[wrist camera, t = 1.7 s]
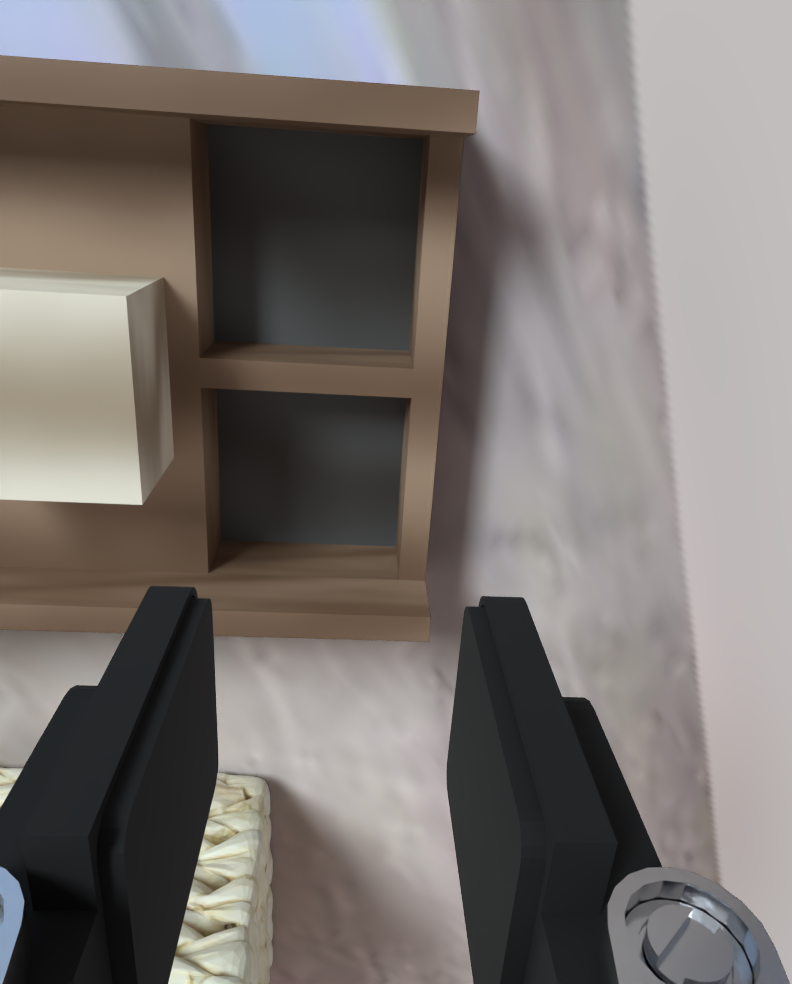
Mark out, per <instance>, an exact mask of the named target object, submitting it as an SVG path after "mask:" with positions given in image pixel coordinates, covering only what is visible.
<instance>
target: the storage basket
mask: <svg viewBox="0 0 792 984" xmlns="http://www.w3.org/2000/svg"><path fill="white" fill-rule="evenodd" d="M22 769H23V768H2V767H0V808H1V806H2V804H3V803H4V801H5V799H6V797H7V796H8V794H9V792H10V790H11V789H12V787H13V785H14V783H15V782H16V780H17V778H18V776H19V775H20V773H21V771H22ZM269 814H270V792H269V788H268V785H267V783H266V782H265V781H264V780H263V779H261V778H259V777H254V776H243V775H229V774H226V773H217V781H216V787H215V791H214V795H213V800H212V804H211V808H210V812H209V816H208V820H207V824H206V829H205V833H204V837H203V841H202V845H201V849H200V854H199V858H198V862H197V866H196V870H195V874H194V878H193V883H192V887H191V891H190V895H189V899H188V903H187V907H186V912H185V916H184V920H183V924H182V928H181V932H180V936H179V941H178V945H177V949H176V953H175V957H174V961H173V965H172V970H171V974H170V978H169V982H168V984H269V983H270V967H271V966H272V962H273V947H272V943H271V941H272V938H273V922H272V916H271V915H272V908H273V894H272V890H271V888H270V884H271V881H272V875H273V859H272V854H271V850H270V848H269V846H270V839H271V820H270V817H269Z"/></svg>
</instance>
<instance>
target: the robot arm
mask: <svg viewBox="0 0 792 984" xmlns="http://www.w3.org/2000/svg"><path fill="white" fill-rule="evenodd" d="M217 773H218V738H217V714H216V689H215V664H214V639H213V615H212V603H211V600H210V598H198V596H197V591H196V589H195V587H180V586H150V587H149V589H148V590H147V592H146V594H145V596H144V598H143V600H142V601H141V603H140V605H139V607H138V609H137V611H136V613H135V615H134V617H133V619H132V621H131V623H130V625H129V626H128V628H127V630H126V632H125V634H124V636H123V638H122V640H121V642H120V644H119V646H118V648H117V650H116V652H115V653H114V655H113V657H112V659H111V661H110V663H109V665H108V667H107V669H106V671H105V673H104V675H103V677H102V678H101V680H100V682H99V684H98V686H79V685H76V686H74V687H72V688H70V690H69V691H68V692H67V694H66V695H65V696H64V698H63V700H62V701H61V703H60V705H59V707H58V708H57V710H56V712H55V714H54V715H53V717H52V719H51V721H50V722H49V724H48V726H47V728H46V729H45V731H44V733H43V735H42V736H41V738H40V740H39V742H38V743H37V745H36V747H35V749H34V750H33V752H32V754H31V755H30V757H29V759H28V761H27V762H26V764H25V766H24V768H23V769H22V771H21V773H20V775H19V776H18V778H17V780H16V782H15V783H14V785H13V787H12V789H11V790H10V792H9V794H8V796H7V797H6V799H5V801H4V803H3V804H2V806H1V808H0V984H168V982H169V978H170V974H171V970H172V965H173V961H174V957H175V953H176V949H177V945H178V941H179V936H180V932H181V928H182V924H183V920H184V916H185V912H186V907H187V903H188V899H189V895H190V891H191V887H192V883H193V878H194V874H195V870H196V866H197V862H198V858H199V854H200V849H201V845H202V841H203V837H204V833H205V829H206V824H207V820H208V816H209V812H210V808H211V804H212V800H213V795H214V791H215V787H216V781H217ZM447 791H448V799H449V806H450V813H451V821H452V828H453V835H454V843H455V850H456V857H457V865H458V872H459V879H460V887H461V894H462V901H463V909H464V916H465V923H466V931H467V938H468V945H469V953H470V960H471V967H472V975H473V982H474V984H790V983H789V980H788V978H787V975H786V973H785V970H784V968H783V965H782V963H781V960H780V958H779V955H778V953H777V950H776V948H775V946H774V944H773V942H772V941H771V939H770V937H769V935H768V933H767V932H766V930H765V928H764V926H763V925H762V923H761V922H760V921H759V920H758V919H757V917H756V916H755V915H754V914H753V913H752V912H751V911H750V910H749V909H748V908H747V906H746V905H745V904H744V903H743V902H742V901H741V900H739V899H738V898H737V897H735V896H734V895H732V894H731V893H730V892H728V891H727V890H726V889H724V888H723V887H722V886H720V885H719V884H717V883H715V882H712V881H710V880H708V879H706V878H704V877H702V876H700V875H698V874H696V873H692V872H688V871H684V870H680V869H676V868H671V867H662V865H661V863H660V861H659V858H658V856H657V854H656V851H655V849H654V847H653V845H652V842H651V840H650V838H649V835H648V833H647V831H646V828H645V826H644V824H643V821H642V819H641V817H640V814H639V812H638V810H637V807H636V805H635V803H634V800H633V798H632V796H631V794H630V791H629V789H628V787H627V784H626V782H625V780H624V777H623V775H622V773H621V770H620V768H619V766H618V763H617V761H616V759H615V756H614V754H613V752H612V750H611V747H610V745H609V743H608V740H607V738H606V736H605V733H604V731H603V729H602V726H601V724H600V722H599V719H598V717H597V715H596V712H595V710H594V708H593V706H592V705H591V703H590V701H589V700H587V699H586V698H577V697H562V696H561V693H560V690H559V688H558V685H557V682H556V680H555V677H554V675H553V672H552V669H551V667H550V664H549V661H548V659H547V656H546V654H545V651H544V648H543V646H542V643H541V640H540V638H539V635H538V632H537V630H536V627H535V625H534V622H533V619H532V617H531V614H530V611H529V609H528V606H527V604H526V601H525V600H524V598H521V597H490V596H482V597H481V599H480V602H479V607H466V608H465V612H464V618H463V627H462V635H461V644H460V653H459V662H458V671H457V680H456V689H455V698H454V706H453V715H452V724H451V733H450V742H449V751H448V760H447Z"/></svg>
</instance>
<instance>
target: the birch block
mask: <svg viewBox="0 0 792 984" xmlns="http://www.w3.org/2000/svg"><path fill="white" fill-rule="evenodd" d="M173 458H174V446H173V429H172V412H171V395H170V378H169V361H168V344H167V326H166V309H165V292H164V277H155V276H137V275H120V274H102V273H85V272H67V271H50V270H32V269H15V268H0V499H2V500H28V501H53V502H79V503H105V504H131V505H143V503H144V502H145V500H146V499H147V497H148V496H149V494H150V493H151V491H152V490H153V488H154V487H155V485H156V484H157V482H158V481H159V479H160V478H161V476H162V475H163V473H164V472H165V470H166V469H167V467H168V466H169V464H170V463H171V461H172V460H173Z"/></svg>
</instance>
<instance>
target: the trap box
mask: <svg viewBox="0 0 792 984" xmlns="http://www.w3.org/2000/svg"><path fill="white" fill-rule="evenodd" d="M478 102H479V91H476V90H463V89H449V88H436V87H422V86H408V85H395V84H381V83H368V82H354V81H341V80H327V79H314V78H300V77H287V76H273V75H260V74H246V73H233V72H219V71H206V70H192V69H179V68H165V67H152V66H138V65H124V64H111V63H97V62H84V61H70V60H57V59H43V58H30V57H16V56H3V55H0V268H15V269H32V270H50V271H67V272H85V273H102V274H120V275H137V276H155V277H164V292H165V309H166V326H167V344H168V361H169V378H170V395H171V412H172V429H173V446H174V458H173V460H172V461H171V463H170V464H169V466H168V467H167V469H166V470H165V472H164V473H163V475H162V476H161V478H160V479H159V481H158V482H157V484H156V485H155V487H154V488H153V490H152V491H151V493H150V494H149V496H148V497H147V499H146V500H145V502H144V503H143V505H131V504H105V503H79V502H53V501H28V500H2V499H0V630H34V631H69V632H105V633H125V632H126V630H127V628H128V626H129V625H130V623H131V621H132V619H133V617H134V615H135V613H136V611H137V609H138V607H139V605H140V603H141V601H142V600H143V598H144V596H145V594H146V592H147V590H148V589H149V587H150V586H180V587H195V589H196V591H197V596H198V598H210V600H211V603H212V615H213V636H245V637H281V638H316V639H351V640H386V641H422V642H429V631H430V620H431V615H430V609H429V602H428V596H427V589H426V583H425V577H426V566H427V554H428V543H429V531H430V520H431V509H432V497H433V486H434V474H435V463H436V451H437V440H438V428H439V417H440V406H441V394H442V383H443V371H444V360H445V348H446V337H447V325H448V314H449V303H450V291H451V280H452V268H453V257H454V245H455V234H456V222H457V211H458V200H459V188H460V177H461V165H462V154H463V142H464V137H467V136H470V135H473V134H475V133H476V124H477V113H478Z"/></svg>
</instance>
